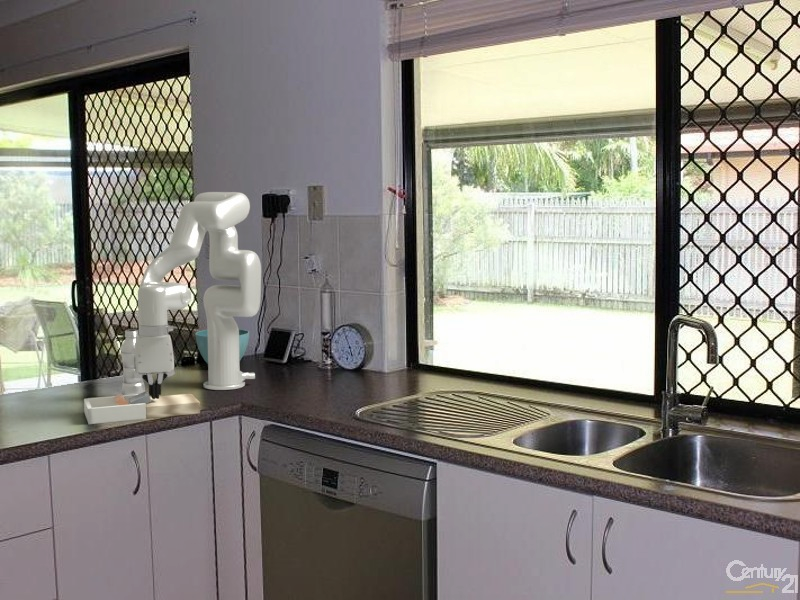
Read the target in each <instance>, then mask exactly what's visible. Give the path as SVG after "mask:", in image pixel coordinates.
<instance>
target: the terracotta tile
mask: <svg viewBox="0 0 800 600" xmlns="http://www.w3.org/2000/svg"><path fill="white" fill-rule="evenodd" d="M114 396H115V397H114V398H113V399H114V400H115V402H116V403H117V404H118V405H130V404H129V403H128V402H127V401H126V400H125V399H124V398H123V397H122V394H121V393H120V392H119V393H117V394H116V395H114Z"/></svg>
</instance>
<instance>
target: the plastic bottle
mask: <svg viewBox="0 0 800 600" xmlns="http://www.w3.org/2000/svg"><path fill="white" fill-rule="evenodd" d="M136 336H139V329H126V330H125V331H124V338H125V339H124V341H123V342H122V344H121V345H120V349H119V350H120V355H121V360H122V361H121V362H122V367H123V368H122V369H123V374H122V376H123V377H122V385H121V393H122V394H121V395H134V394H140V393H143V392H145V391H146V385H145V383H144V382H145V381H144V379H139V378H135V377H134V372H135V369H134V347H135V339H136Z"/></svg>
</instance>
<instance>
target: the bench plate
mask: <svg viewBox="0 0 800 600" xmlns="http://www.w3.org/2000/svg"><path fill="white" fill-rule="evenodd" d="M150 399H151V402H149V403H147V404H146V419H153V418H164V417H174V416H176V417H177V416H184V415H197V414H201V402H200V401H199V399H197V398H196V397H195V396H194V395H193V393H182V394H171V395H170V394H169V395H159V399H157V398H155V399H152V397H151V396H150Z"/></svg>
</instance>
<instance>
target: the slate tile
mask: <svg viewBox="0 0 800 600" xmlns="http://www.w3.org/2000/svg"><path fill="white" fill-rule="evenodd" d="M150 397H151V396H149V392H147V391H146V390H145V392H143V393H140V394H138V395H136V396H133V397H131V398H129V402H130V404H141V403H145V404H147V403H149V402H151V399H150Z"/></svg>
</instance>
